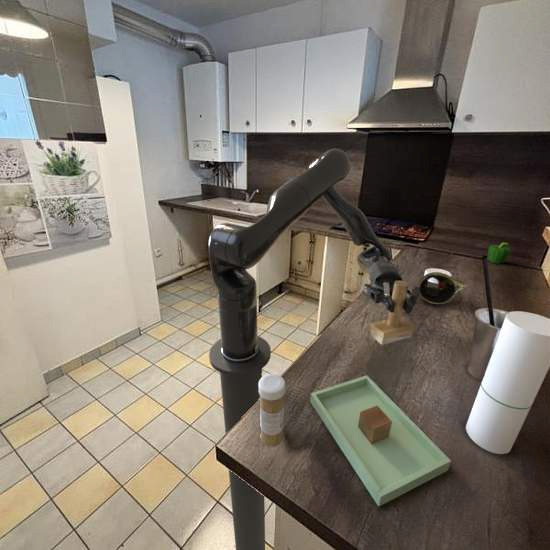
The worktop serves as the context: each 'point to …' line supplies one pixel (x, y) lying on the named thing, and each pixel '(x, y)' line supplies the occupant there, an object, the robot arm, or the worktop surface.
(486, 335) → the glass
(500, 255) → the bell pepper
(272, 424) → the sprinkles bottle
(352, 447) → the tray
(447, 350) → the worktop surface
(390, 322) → the wooden stamp
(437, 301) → the pot
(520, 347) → the cylindrical container
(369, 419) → the cork cube
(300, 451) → the worktop surface
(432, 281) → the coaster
